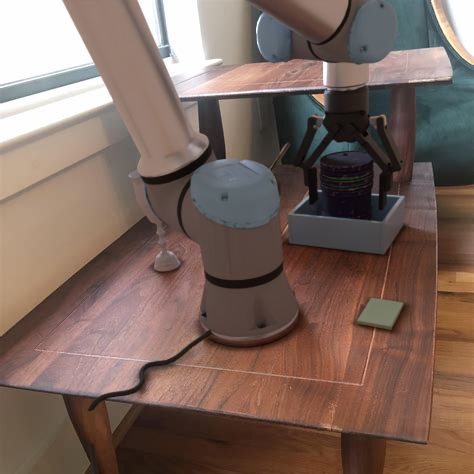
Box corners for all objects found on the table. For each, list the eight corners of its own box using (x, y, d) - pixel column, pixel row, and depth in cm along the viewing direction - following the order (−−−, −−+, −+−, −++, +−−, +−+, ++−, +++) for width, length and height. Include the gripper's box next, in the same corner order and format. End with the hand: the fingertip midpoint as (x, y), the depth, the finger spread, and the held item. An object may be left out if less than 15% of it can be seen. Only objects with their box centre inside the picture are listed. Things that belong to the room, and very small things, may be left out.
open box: (384, 254, 98) (385, 223, 95) (289, 243, 106) (287, 214, 103) (403, 225, 108) (405, 195, 105) (315, 216, 116) (314, 189, 113)
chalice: (192, 259, 105) (176, 166, 96) (174, 275, 100) (156, 179, 91) (160, 255, 108) (142, 165, 99) (141, 271, 103) (120, 178, 94)
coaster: (391, 330, 78) (391, 326, 78) (356, 323, 80) (357, 320, 80) (403, 305, 83) (403, 302, 83) (371, 300, 85) (371, 297, 85)
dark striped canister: (376, 242, 102) (378, 164, 95) (323, 246, 104) (321, 169, 96) (368, 222, 111) (370, 148, 103) (319, 226, 112) (317, 153, 104)
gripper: (426, 79, 90) (418, 202, 101) (287, 83, 101) (294, 193, 112) (415, 89, 84) (408, 217, 96) (270, 92, 96) (279, 206, 107)
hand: (347, 204), depth 104 cm, fingers open, 13 cm apart
